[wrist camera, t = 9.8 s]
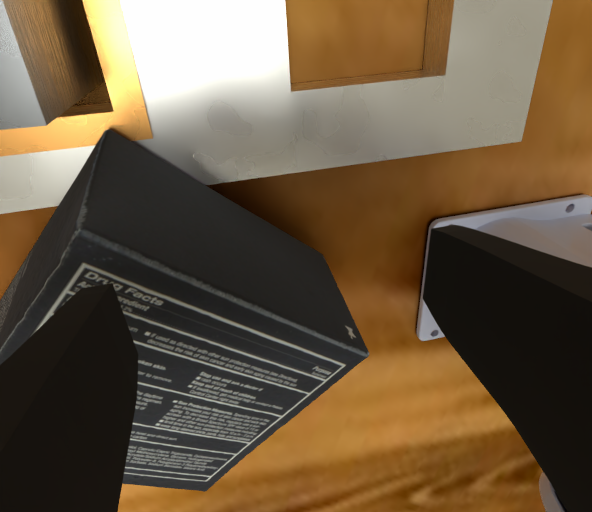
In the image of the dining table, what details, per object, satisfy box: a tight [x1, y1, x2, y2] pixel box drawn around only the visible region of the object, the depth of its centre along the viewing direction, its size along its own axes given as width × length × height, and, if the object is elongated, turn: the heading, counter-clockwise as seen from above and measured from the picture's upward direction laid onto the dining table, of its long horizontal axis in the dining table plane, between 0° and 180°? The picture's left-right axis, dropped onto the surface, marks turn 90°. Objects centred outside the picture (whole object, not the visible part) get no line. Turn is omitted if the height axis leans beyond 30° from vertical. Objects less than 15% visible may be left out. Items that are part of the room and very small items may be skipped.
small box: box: [0, 130, 369, 491], centre depth 16 cm, size 11×6×10 cm
